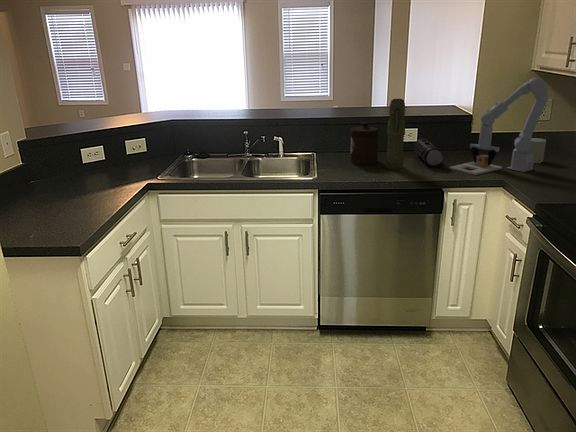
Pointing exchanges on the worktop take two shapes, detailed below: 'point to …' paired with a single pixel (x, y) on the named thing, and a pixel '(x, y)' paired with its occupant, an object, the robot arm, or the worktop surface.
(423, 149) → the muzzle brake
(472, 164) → the panel
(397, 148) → the olive rounded pillar
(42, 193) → the worktop surface
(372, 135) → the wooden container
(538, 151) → the can
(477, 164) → the plug
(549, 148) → the worktop surface
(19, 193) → the worktop surface
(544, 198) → the worktop surface
